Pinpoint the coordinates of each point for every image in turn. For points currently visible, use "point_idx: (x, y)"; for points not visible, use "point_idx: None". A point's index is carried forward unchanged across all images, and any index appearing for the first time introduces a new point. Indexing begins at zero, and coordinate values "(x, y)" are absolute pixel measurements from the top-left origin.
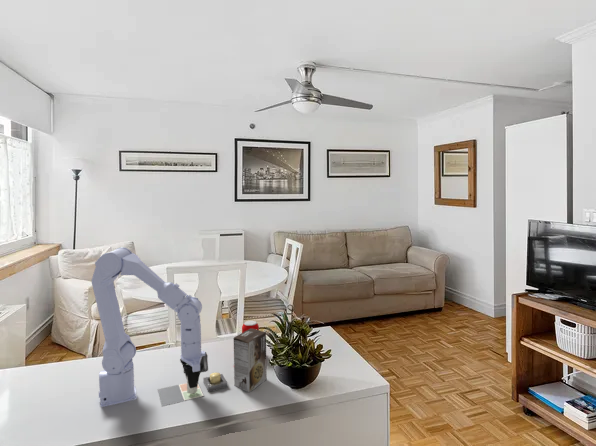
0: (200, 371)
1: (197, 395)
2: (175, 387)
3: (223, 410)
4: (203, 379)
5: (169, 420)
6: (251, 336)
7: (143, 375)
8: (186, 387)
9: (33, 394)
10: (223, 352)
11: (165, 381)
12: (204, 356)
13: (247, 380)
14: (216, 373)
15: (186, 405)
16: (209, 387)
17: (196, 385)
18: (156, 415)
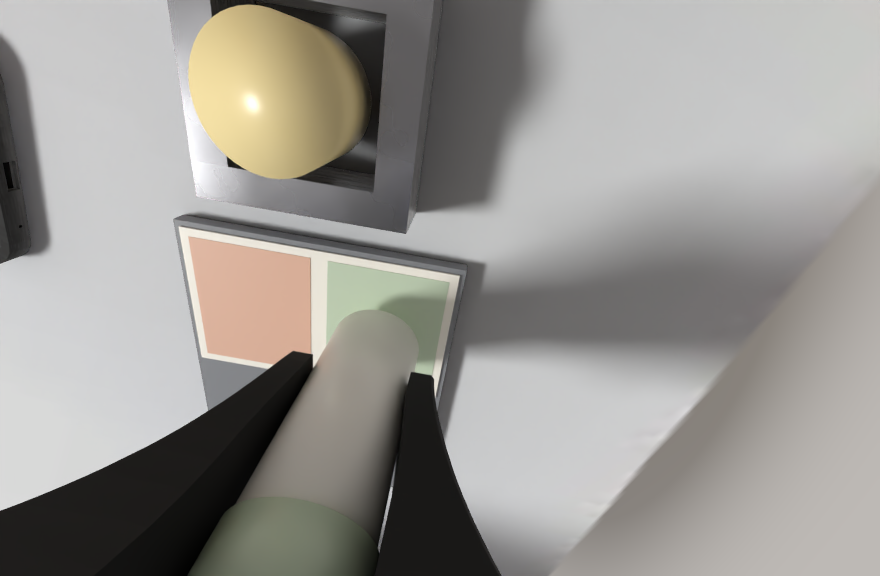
0: (490, 563)
1: (427, 312)
2: (231, 381)
3: (763, 215)
4: (208, 192)
5: (563, 491)
6: None
7: (6, 446)
8: (265, 331)
9: None
10: None
11: (111, 385)
12: None
13: None
14: (225, 59)
15: (481, 389)
16: (408, 214)
17: (434, 392)
18: (473, 512)
